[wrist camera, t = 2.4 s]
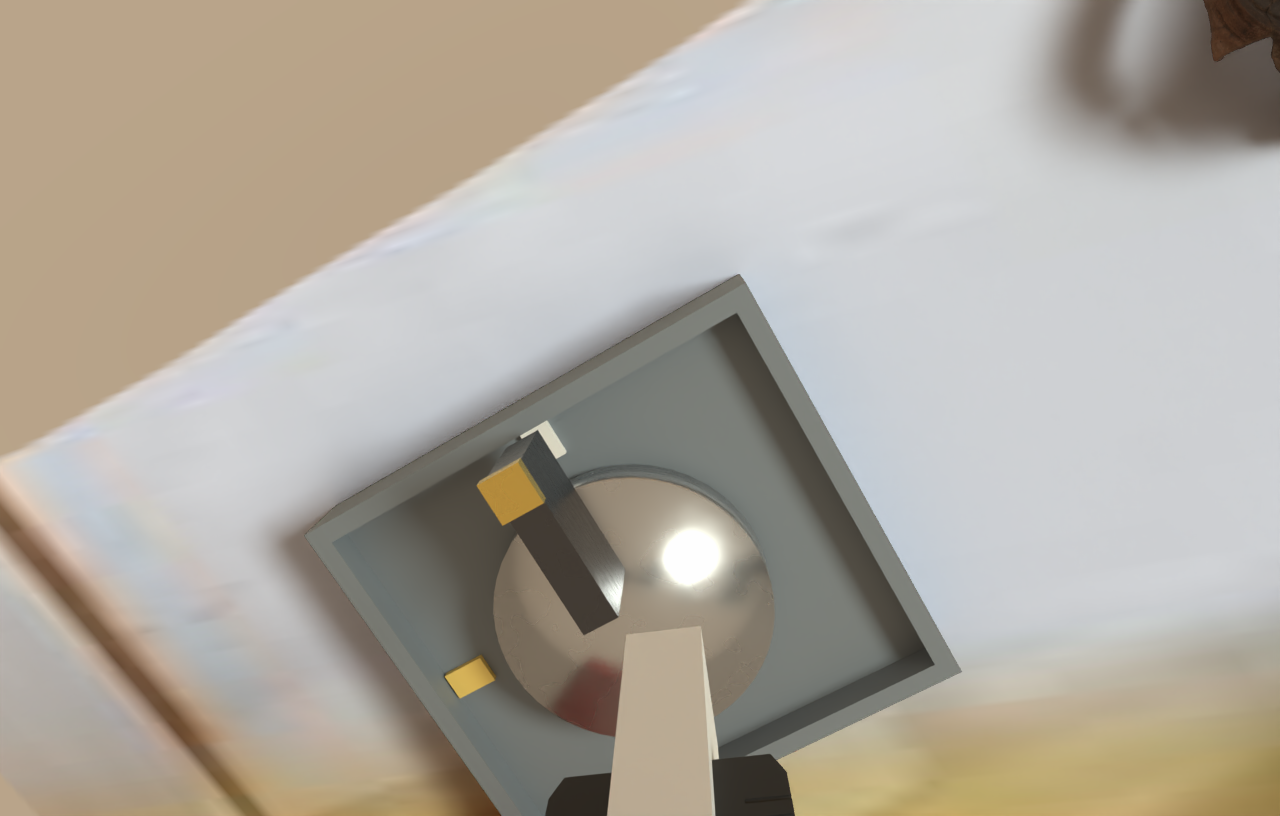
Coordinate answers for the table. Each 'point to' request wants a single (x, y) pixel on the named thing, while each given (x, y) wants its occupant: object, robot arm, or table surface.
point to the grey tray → (664, 437)
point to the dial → (620, 579)
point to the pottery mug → (1243, 25)
